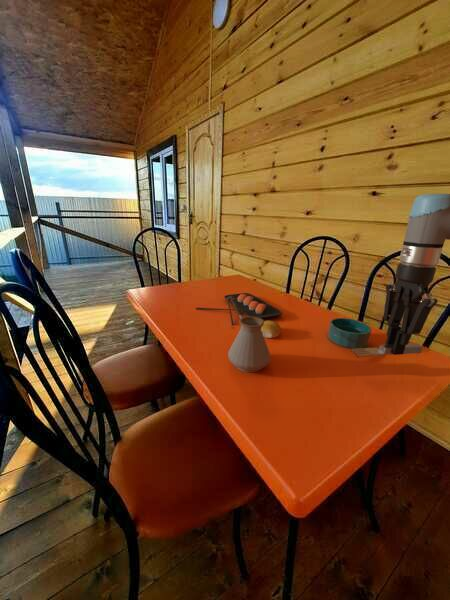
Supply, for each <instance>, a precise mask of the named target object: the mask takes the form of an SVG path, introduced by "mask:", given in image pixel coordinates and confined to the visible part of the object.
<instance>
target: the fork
mask: <svg viewBox="0 0 450 600" xmlns="http://www.w3.org/2000/svg"><path fill="white" fill-rule="evenodd" d="M393 347H394V344H386V343H385V344H384V343H383V344H379V347H364V348H356V349H355V348H350V352H351V353H352V354H353V355H354V356H356V358H375V357H386V356H390V355H391V356H394V355H393V354H392V351H393ZM423 348H424V347H423V345H421V344H420V343H418V342H410V343H408V344H407V345H406V346H405V349H404V353H403V354H402V355H408V354H409V355H410V354H421V353H422V351H423Z"/></svg>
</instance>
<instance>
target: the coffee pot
mask: <svg viewBox="0 0 450 600" xmlns="http://www.w3.org/2000/svg"><path fill="white" fill-rule="evenodd" d="M228 298H229V297H228ZM228 298H227V300H226V301H227V302H228V301H231V302H232V303H233V304H232V303H231V304H232V306H233V309H234V310H236V311H235V312H236V314H237V315H238V317H239V320H238V322H239V325H240V326H241V327H240V329H239V331H238V333H237V335H236V336H235V338H234V341H233V342H232V344H231V347H230V348H229V349H228V352H227V356H228V357H227V358H228V359H229V361H230V363H231V364H232V365H234V367H236V369H238V370H239V371H242V372H245V373H255V372H259V371H261V370H262V369H264V368H266V367H267V366H268V364H270V361H271V352H270V350H269V347H268V344H267V341H266V338H265V337H264V336H263V333H262V331H261V327H262V326H263V325H264V321H265V320H264V318H257V317H251V316H248V315H247V316H243V315H242V313H241V312H242V311H240V309H239V307H238V305H237V304H236V303H235V300H234V299H233V296H230V299H231V300H228Z"/></svg>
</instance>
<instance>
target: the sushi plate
mask: <svg viewBox="0 0 450 600" xmlns="http://www.w3.org/2000/svg"><path fill="white" fill-rule="evenodd" d="M230 296H233V299H234V300H235V303H236V304H237V305H238V307H239V310H240V312H242V313H244V314H245V315H246V316H247V317H248V316H251V317H257V318H261V319H267V318H273V317H278V316H281V315H283V312H282V311H281V310H280V309H279V308H277V307H275V306H273V305H271V304H269V303H268V302H266V301H264V300H262V299H261V298H259V297H258V296H255V295H254V294H252V293H249V292H242V293H231V294H225V295H224V296H223V297H224V299H225V300H226V301H227V304H228V308H215V307H214V308H212V307H195V309H196V310H204V311H205V310H208V311H229V316H230V322H231V326H234V319H233V314H232V311H233V312H234V311H235V312H236V310H235V308H233V309H231V306H230V304H231V305H233V303H232V302H231V301H228V300H231V299H230ZM228 297H229V298H228ZM227 298H228V300H227Z"/></svg>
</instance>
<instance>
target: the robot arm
mask: <svg viewBox="0 0 450 600" xmlns="http://www.w3.org/2000/svg"><path fill="white" fill-rule="evenodd" d="M446 240H449V241H450V193H424V194H419V195H418V196H417V197H416V198H415V199H414V200H413V204H412V206H411V209H410V213H409V215H408V221H407V226H406V231H405V234H404V239H403V242H402V247H401V251H400V255H399V259H398V260H399V263H398V264H397V267H396V270H395V274H394V277H395V279H396V280H395V282H394V283H392V284H386V285H385V292H386V294H385V301H384V302H385V303H384V309H383V310H384V311H383V317H382V318H383V321H385V322H387V330H386V336H387V337H386V339H385V344H394V347H393V351H392V354H393V355H392V356H397V355H398V356H400V355H404V354H403V353H404V349H405V346H406V345H407V344H408V343H409V342H410V339H411V335H419V334H421V332H422V330H423V328H424V326H425V324H426V322H427V319H428V317H429V315H430V313H431V310H432V309H433V307H434V306H436V305H437V304H438V299H437V298H433V297H432V296H431V295H430V294H429V293H430V290H429V287H430V284H431V283H433V281H434V278H435V275H436V271H437V268H436V266H437V265H439V262H440V259H441V256H442V255H441V254H442V251H443V248H444V245H445V242H446ZM401 320H402V322H401Z"/></svg>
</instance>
